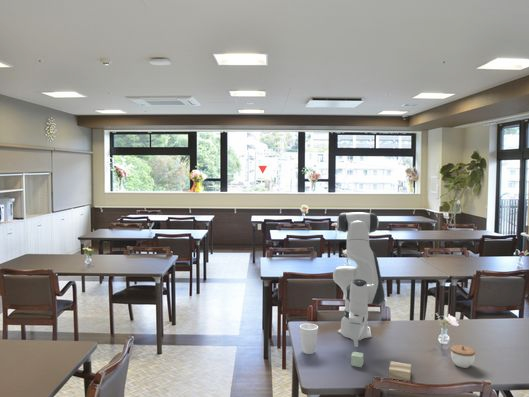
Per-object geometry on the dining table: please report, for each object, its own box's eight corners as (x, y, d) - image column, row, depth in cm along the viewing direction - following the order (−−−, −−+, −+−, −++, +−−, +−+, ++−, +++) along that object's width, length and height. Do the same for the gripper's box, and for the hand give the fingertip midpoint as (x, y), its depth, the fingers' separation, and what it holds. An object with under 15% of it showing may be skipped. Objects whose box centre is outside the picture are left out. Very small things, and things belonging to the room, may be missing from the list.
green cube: (352, 361, 212) (353, 351, 211) (363, 363, 210) (363, 353, 210) (351, 365, 207) (351, 355, 207) (361, 367, 205) (361, 357, 205)
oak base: (390, 369, 203) (390, 361, 203) (410, 372, 200) (411, 364, 200) (388, 377, 195) (388, 369, 195) (409, 381, 192) (410, 372, 191)
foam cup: (316, 356, 217) (317, 330, 217) (298, 354, 219) (298, 329, 219) (318, 348, 227) (318, 324, 226) (300, 346, 229) (301, 322, 228)
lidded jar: (473, 372, 201) (473, 352, 201) (448, 366, 207) (449, 347, 207) (475, 363, 211) (476, 344, 210) (452, 358, 216) (452, 340, 216)
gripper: (355, 307, 218) (354, 335, 218) (347, 319, 199) (347, 349, 199) (368, 309, 215) (367, 336, 216) (361, 321, 196) (360, 351, 197)
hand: (357, 343), depth 207 cm, fingers open, 8 cm apart
